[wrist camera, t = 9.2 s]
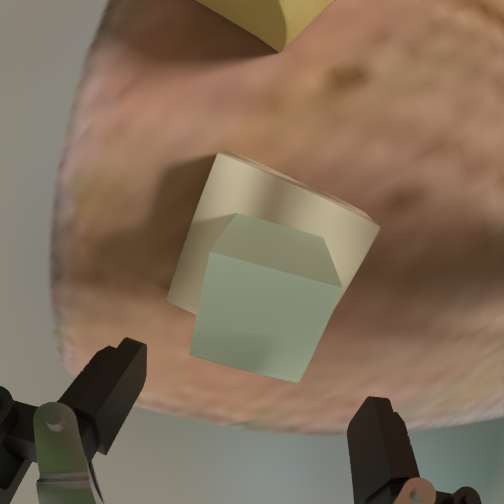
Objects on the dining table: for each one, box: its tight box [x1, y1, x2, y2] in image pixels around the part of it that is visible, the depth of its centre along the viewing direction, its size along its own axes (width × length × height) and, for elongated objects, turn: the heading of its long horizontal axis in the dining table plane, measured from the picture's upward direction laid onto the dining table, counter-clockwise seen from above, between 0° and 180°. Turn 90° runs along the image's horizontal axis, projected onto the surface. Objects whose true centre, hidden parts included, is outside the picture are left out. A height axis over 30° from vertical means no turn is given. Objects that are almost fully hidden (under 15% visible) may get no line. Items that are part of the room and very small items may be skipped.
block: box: [190, 213, 343, 383], centre depth 16 cm, size 6×6×7 cm
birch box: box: [166, 151, 381, 315], centre depth 22 cm, size 11×11×5 cm
